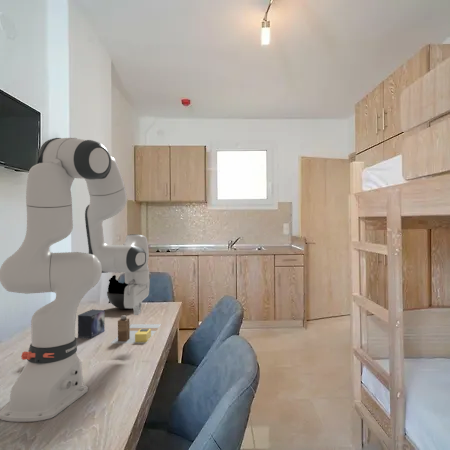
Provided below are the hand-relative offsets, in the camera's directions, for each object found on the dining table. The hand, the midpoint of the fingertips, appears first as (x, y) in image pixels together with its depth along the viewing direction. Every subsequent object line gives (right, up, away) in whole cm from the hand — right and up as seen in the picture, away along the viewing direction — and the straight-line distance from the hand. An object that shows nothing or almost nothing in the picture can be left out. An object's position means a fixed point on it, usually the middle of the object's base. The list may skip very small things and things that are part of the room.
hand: (137, 314), depth 132 cm
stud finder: (0, -12, +8) cm, 14 cm away
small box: (-23, -14, +15) cm, 31 cm away
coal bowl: (-23, -14, +65) cm, 70 cm away
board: (-4, -13, +16) cm, 21 cm away
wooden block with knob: (-7, -12, +7) cm, 16 cm away
